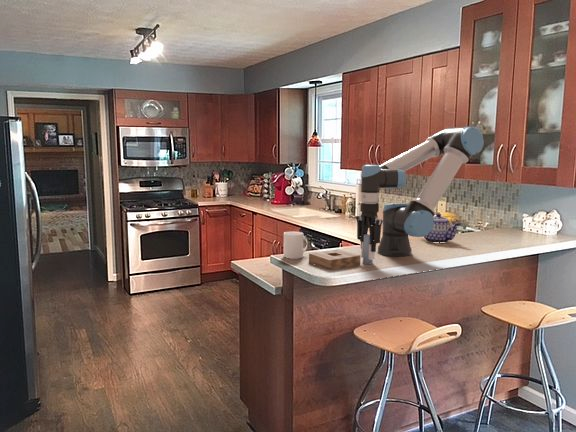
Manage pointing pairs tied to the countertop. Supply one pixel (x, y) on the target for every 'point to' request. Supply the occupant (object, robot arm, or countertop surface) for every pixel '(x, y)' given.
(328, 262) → the board
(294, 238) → the mug
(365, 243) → the dowel
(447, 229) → the teapot
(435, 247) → the countertop surface
